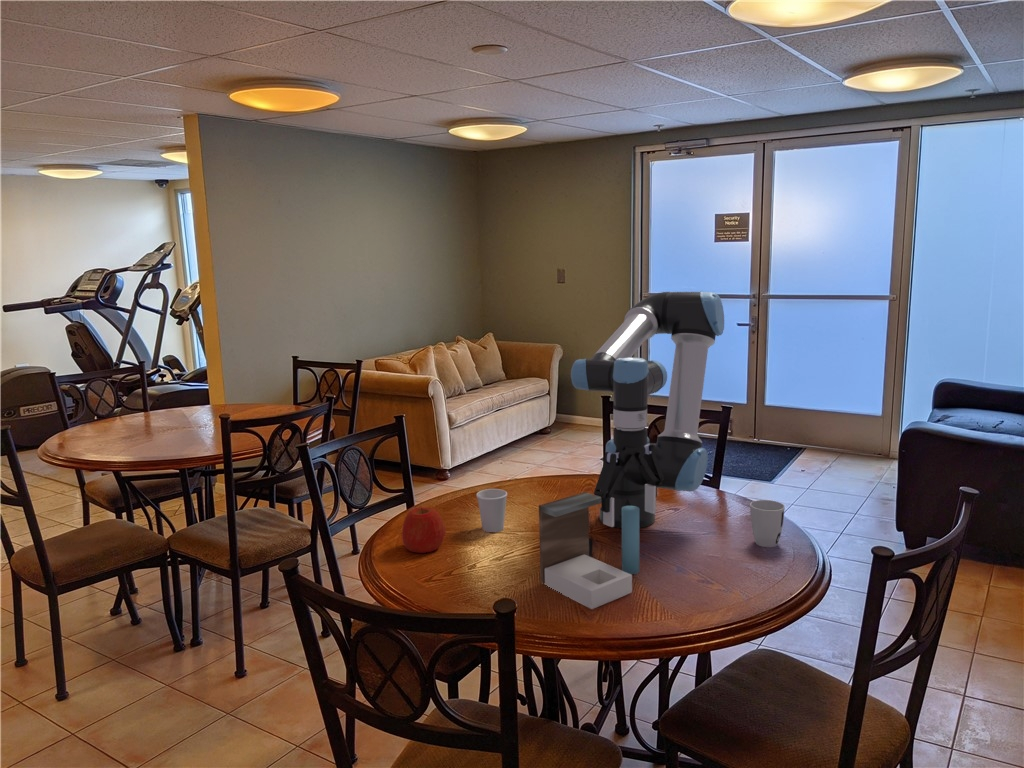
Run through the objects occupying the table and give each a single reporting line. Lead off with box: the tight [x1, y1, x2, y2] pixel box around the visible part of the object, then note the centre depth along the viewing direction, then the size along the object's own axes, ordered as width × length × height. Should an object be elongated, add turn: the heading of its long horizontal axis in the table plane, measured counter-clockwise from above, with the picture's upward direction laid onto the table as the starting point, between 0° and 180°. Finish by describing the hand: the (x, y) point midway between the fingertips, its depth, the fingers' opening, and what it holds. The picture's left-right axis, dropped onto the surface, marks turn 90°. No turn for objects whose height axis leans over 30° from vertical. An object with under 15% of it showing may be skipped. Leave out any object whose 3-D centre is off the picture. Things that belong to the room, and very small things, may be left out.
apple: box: [401, 506, 446, 554], centre depth 187 cm, size 11×11×11 cm
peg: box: [621, 506, 640, 575], centre depth 169 cm, size 4×4×15 cm
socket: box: [544, 554, 633, 610], centre depth 161 cm, size 15×12×4 cm
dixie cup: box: [475, 488, 508, 533], centre depth 199 cm, size 8×8×10 cm
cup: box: [749, 499, 786, 548], centre depth 183 cm, size 8×8×10 cm
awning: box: [538, 491, 601, 585], centre depth 166 cm, size 6×14×18 cm, turn 128°
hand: (629, 518), depth 168 cm, fingers open, 13 cm apart
